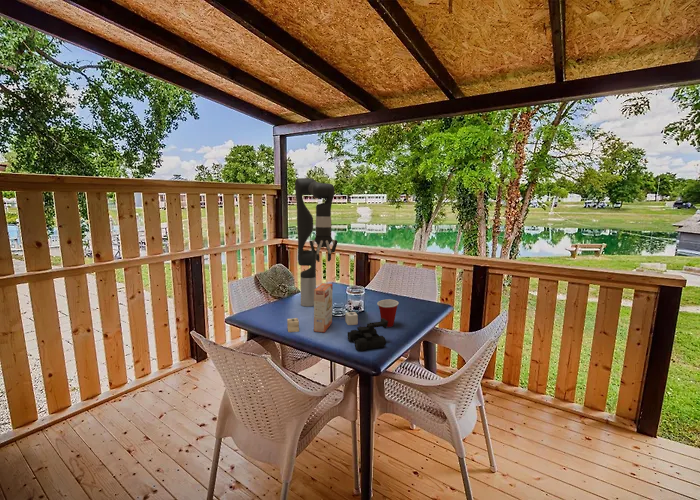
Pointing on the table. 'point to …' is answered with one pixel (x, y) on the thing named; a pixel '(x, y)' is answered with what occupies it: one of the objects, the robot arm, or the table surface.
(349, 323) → the beige wooden cube
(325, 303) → the cracker box
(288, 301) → the table surface
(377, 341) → the night vision goggles
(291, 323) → the birch block
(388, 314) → the plastic cup
